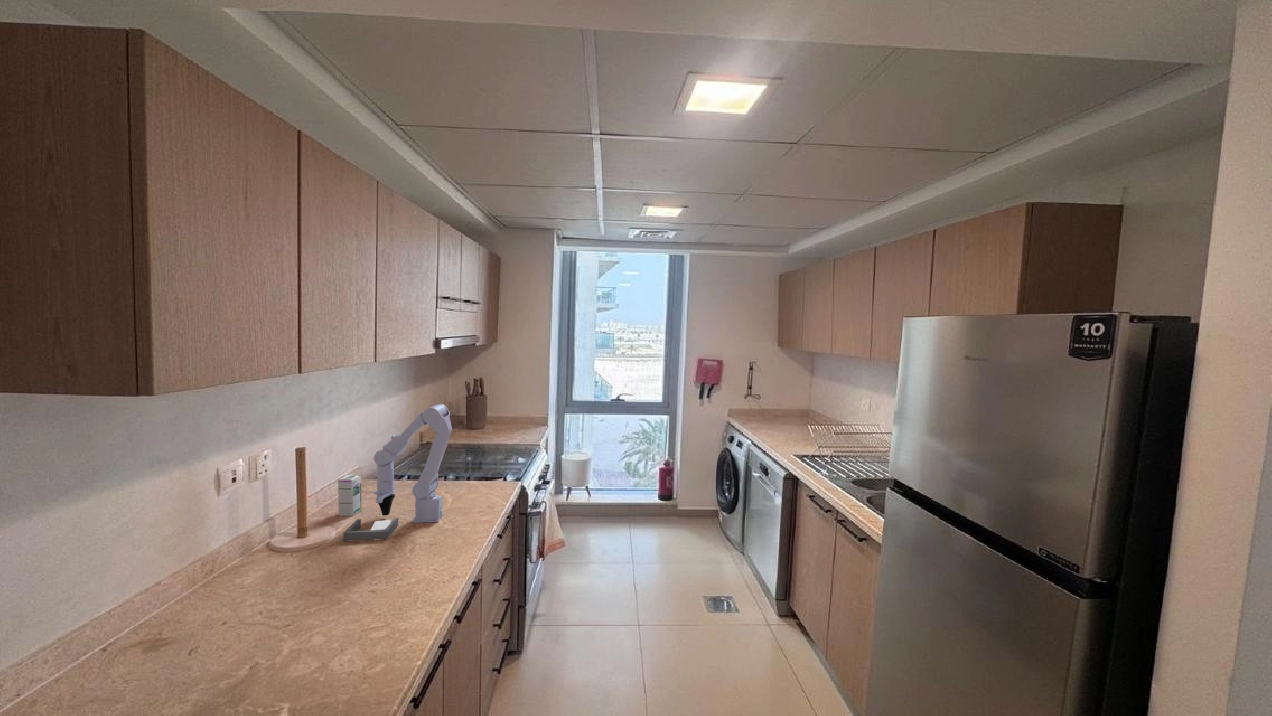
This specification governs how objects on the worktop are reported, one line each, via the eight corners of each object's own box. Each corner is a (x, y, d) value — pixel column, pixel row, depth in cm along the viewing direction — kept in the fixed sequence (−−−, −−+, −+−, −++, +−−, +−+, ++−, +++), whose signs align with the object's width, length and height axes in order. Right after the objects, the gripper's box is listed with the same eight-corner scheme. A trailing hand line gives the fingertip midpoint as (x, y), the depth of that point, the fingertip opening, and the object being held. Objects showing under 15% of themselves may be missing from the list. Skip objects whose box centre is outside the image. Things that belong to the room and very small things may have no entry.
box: (398, 525, 179) (398, 518, 178) (387, 539, 167) (387, 531, 167) (357, 527, 176) (357, 519, 176) (343, 541, 165) (343, 532, 165)
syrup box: (353, 516, 186) (352, 479, 185) (337, 515, 186) (337, 478, 185) (361, 510, 192) (361, 474, 191) (347, 510, 192) (346, 474, 191)
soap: (386, 537, 170) (386, 529, 170) (369, 538, 168) (369, 530, 168) (391, 527, 178) (391, 519, 178) (374, 528, 177) (374, 520, 176)
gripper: (381, 474, 191) (381, 507, 192) (366, 486, 177) (367, 522, 178) (400, 473, 192) (400, 507, 193) (387, 485, 178) (387, 522, 179)
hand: (385, 514), depth 185 cm, fingers closed
